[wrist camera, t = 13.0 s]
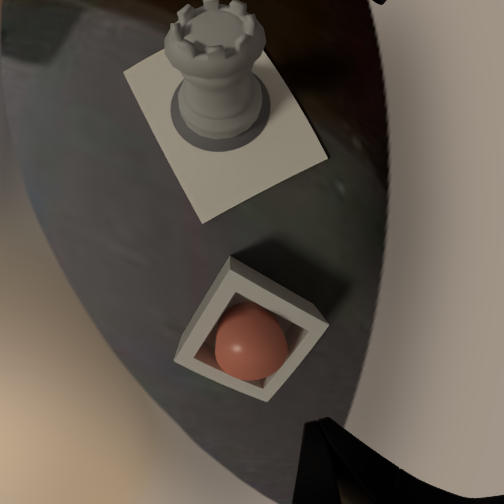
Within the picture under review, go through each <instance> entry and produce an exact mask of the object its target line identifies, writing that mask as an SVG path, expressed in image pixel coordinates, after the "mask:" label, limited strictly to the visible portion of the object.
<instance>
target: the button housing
mask: <svg viewBox="0 0 504 504" xmlns="http://www.w3.org/2000/svg"><path fill="white" fill-rule="evenodd" d="M243 302H255V303H257V304H259V305H261V306H263V307H264V308H266V309H268V310H270V311H272V312H274V313H275V315H276V316H277V318H278V321H279V323H280V326H281V328H282V331H283V334H284V336H285V339H286V342H287V347H288V352H287V356H286V359H285V361H284V363H283V365H282V366H281V367H280V368H279V369H278V370H277V371H276V372H275V373H273V374H272V375H270V376H268V377H265V378H262V379H259V380H241V379H237V378H234V377H232V376H230V375H229V374H227V373H226V372H225V371H223V370H222V368H221V367H220V366H219V364H218V362H217V360H216V356H215V346H216V334H217V325H218V321H219V319H220V317H221V316H222V314H223V313H224V312H225V311H226V310H227V309H229V308H230V307H232V306H233V305H236V304H239V303H243ZM328 326H329V324H328V323H327V321H326V320H325V319H324V317H323V316H322V315H321V313H320V312H319V311H318V309H317V308H316V307H315V305H314V304H313V303H311V302H309V301H307V300H306V299H304V298H302V297H300V296H299V295H297V294H295V293H293V292H292V291H290V290H288V289H286V288H285V287H283V286H281V285H280V284H278V283H276V282H274V281H273V280H271V279H269V278H267V277H266V276H264V275H262V274H261V273H259V272H257V271H255V270H254V269H252V268H250V267H249V266H247V265H245V264H243V263H242V262H240V261H238V260H237V259H235V258H233V257H232V256H229V258H228V259H227V261H226V263H225V264H224V266H223V268H222V269H221V271H220V272H219V274H218V276H217V277H216V279H215V281H214V282H213V284H212V286H211V287H210V289H209V291H208V292H207V294H206V296H205V297H204V299H203V301H202V302H201V304H200V306H199V307H198V309H197V311H196V312H195V314H194V316H193V317H192V319H191V321H190V322H189V324H188V326H187V327H186V329H185V331H184V332H183V334H182V336H181V339H180V342H179V346H178V349H177V352H176V355H175V358H174V362H176V363H178V364H180V365H182V366H184V367H186V368H188V369H190V370H192V371H195V372H197V373H199V374H201V375H203V376H205V377H207V378H209V379H212V380H214V381H216V382H218V383H221V384H223V385H225V386H228V387H230V388H232V389H235V390H237V391H240V392H242V393H245V394H247V395H250V396H252V397H255V398H258V399H260V400H263V401H266V402H267V401H268V400H269V399H270V398H271V397H272V396H273V395H274V394H275V392H276V391H277V390H278V389H279V388H280V387H281V386H282V384H283V383H284V382H285V381H286V380H287V379H288V377H289V376H290V375H291V374H292V373H293V371H294V370H295V369H296V368H297V366H298V365H299V364H300V363H301V361H302V360H303V359H304V358H305V356H306V355H307V354H308V353H309V351H310V350H311V349H312V348H313V346H314V345H315V344H316V342H317V341H318V340H319V338H320V337H321V336H322V334H323V333H324V332H325V330H326V329H327V328H328Z"/></svg>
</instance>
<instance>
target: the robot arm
mask: <svg viewBox="0 0 504 504" xmlns="http://www.w3.org/2000/svg"><path fill="white" fill-rule="evenodd" d="M373 1H374V2H376V3H377V4H380V5H383V4H384V3H385V1H386V0H373ZM292 504H504V495H499V496H492V497H484V498H466V497H462V496H458V495H456V494H453V493H450V492H447V491H445V490H442V489H440V488H437V487H434V486H432V485H430V484H427V483H425V482H423V481H421V480H419V479H417V478H416V477H414V476H412V475H410V474H408V473H407V472H405V471H404V470H403V469H399V467H398V466H396V465H395V464H393V463H392V462H390V461H389V460H387V459H386V458H384V457H382V456H381V455H380V454H378V453H377V452H376V451H374V450H373V449H371V448H370V447H369V446H367V445H366V444H364V443H363V442H361V441H360V440H359V439H357V438H356V437H355V436H353V435H352V434H351V433H349V432H348V431H347V430H345V429H344V428H343V427H341V426H340V425H339V424H338V423H336V422H335V421H334V420H332V419H331V418H330V417H325V418H321V419H318V420H317V421H316V420H313V421H309V422H305V423H304V429H303V437H302V444H301V451H300V458H299V465H298V471H297V477H296V483H295V488H294V494H293V499H292Z"/></svg>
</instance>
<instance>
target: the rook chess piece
mask: <svg viewBox="0 0 504 504" xmlns="http://www.w3.org/2000/svg"><path fill="white" fill-rule="evenodd" d="M203 3H204V6H202V7H200V8H197V9H195V10H194V8H193V7H192V6H191V5H189V4H187V5H186V6H185V7H183V8H182V9H181V10H180V11H178V12H177V15H178V18H179V20H178V21H177V22H176V23H171V28H170V30H169V32H168V34H167V36H166V38H165V55H166V57H167V58H168V60H169V61H170V63H171V65H172V66H173V67H174V68H176V69H178V70H179V71H180V72H181V74H182V75H183V77H184V80H183V83H182V85H181V88H180V90H179V93H178V102H179V110H180V113H181V116H182V118H183V119H184V121H185V123H186V125H187V126H188V127H189V128H190V129H192V130H193V131H194V132H196V133H197V134H199V135H200V136H204V137H208V138H212V139H224V138H233V137H235V136H237V135H238V134H240V133H242V132H244V131H246V130H248V129H249V127H250V126H251V125H252V124H253V123H254V122H255V121H256V120H257V118H258V115H259V112H260V109H261V106H262V92H261V85H260V83H259V82H258V80H257V79H256V77H255V76H254V74H253V73H252V71H251V70H252V68H253V65H254V62H255V61H256V60H257V59H258V58H259V57H260V56H261V54H262V52H263V49H264V46H265V44H266V38H265V33H264V28H263V27H262V26H261V24H260V23H259V22H258V21H257V19H256V16H255V14H251V15H250V14H249V13H247V12H246V9H247V4H245V3H242V2H240V1H238V0H232V2H231V3H230V6H228V5H222V4H219V0H203Z"/></svg>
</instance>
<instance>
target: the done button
mask: <svg viewBox="0 0 504 504" xmlns="http://www.w3.org/2000/svg"><path fill="white" fill-rule="evenodd" d="M287 352H288V347H287V342H286V339H285V336H284V334H283V331H282V328H281V326H280V323H279V321H278V318H277V316H276V315H275V313H274V312H272V311H270V310H268V309H266V308H264V307H263V306H261V305H259V304H257V303H255V302H243V303H239V304H236V305H233V306H232V307H230V308H229V309H227V310H226V311H225V312H224V313H223V314H222V316H221V317H220V319H219V321H218V325H217V334H216V346H215V356H216V360H217V362H218V364H219V366H220V367H221V368H222V370H223V371H225V372H226V373H227V374H229V375H230V376H232V377H234V378H237V379H241V380H259V379H262V378H265V377H268V376H270V375H272V374H273V373H275V372H276V371H277V370H278V369H279V368H280V367H281V366H282V365H283V363H284V361H285V359H286V356H287Z"/></svg>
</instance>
